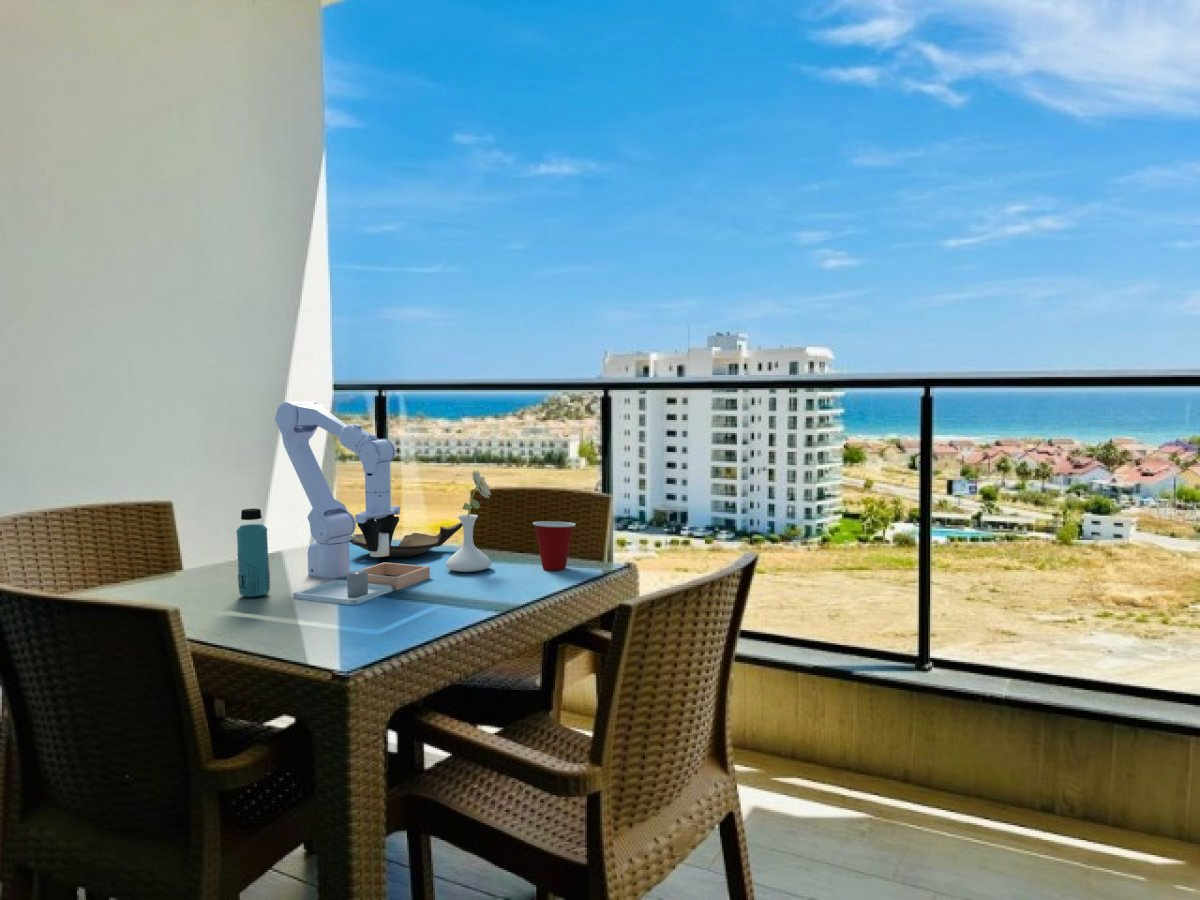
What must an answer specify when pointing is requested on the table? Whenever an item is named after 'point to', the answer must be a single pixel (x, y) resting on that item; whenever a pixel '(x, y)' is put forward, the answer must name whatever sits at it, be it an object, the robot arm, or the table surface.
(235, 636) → the table surface
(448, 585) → the table surface
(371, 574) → the terracotta dish
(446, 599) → the table surface
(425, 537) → the dark brown curved bowl
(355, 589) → the grey plastic cylinder
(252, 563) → the beverage bottle
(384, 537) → the pale grey cylinder
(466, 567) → the flower in vase
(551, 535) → the plastic cup
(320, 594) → the parts tray
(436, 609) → the table surface
